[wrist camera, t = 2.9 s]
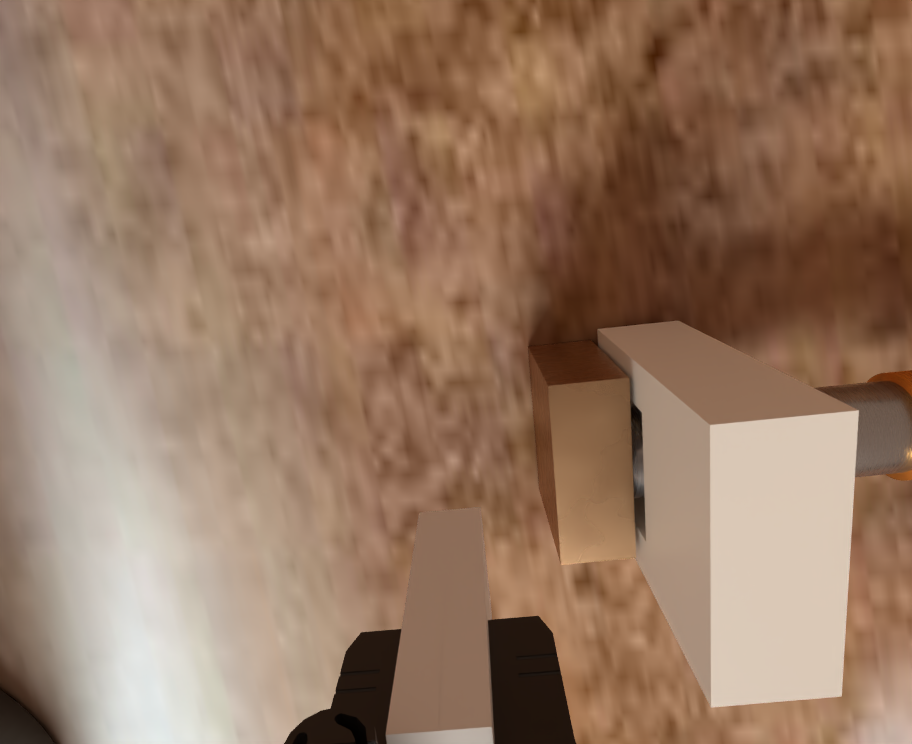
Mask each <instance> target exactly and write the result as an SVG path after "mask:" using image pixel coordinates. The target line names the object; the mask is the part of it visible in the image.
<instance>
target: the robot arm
mask: <svg viewBox="0 0 912 744" xmlns="http://www.w3.org/2000/svg"><path fill="white" fill-rule="evenodd" d="M340 674H341V675H340V677H339V679H338V683H337V687H336V694H334V698H333V702H332V705H331V709H327V710H323V711H320V712H318V713H316V714H314V715H312V716H310V717H308V718H307V719H305V720H303V721H302V722H301V723H300V724H299V725H298V726H297V727H296V728H295V729H294V730H293V731H292V732H291V733H290V734H289V736H288V738H287V740H286V742H285V743H284V744H576V742H575V739H574V734H573V729H572V725H571V720H570V715H569V710H568V705H567V700H566V696H565V691H564V686H563V681H562V676H561V672H560V666H559V662H558V657H557V652H556V647H555V642H554V637H553V633H552V631H551V630H550V629H549V628H548V627H547V626H546V624H545V623H544V622H543V621H542V620H541V618H540V617H539V616H531V617H519V618H507V619H495V620H492V615H491V601H490V592H489V583H488V573H487V564H486V555H485V545H484V536H483V526H482V517H481V508H480V507H475V508H464V509H453V510H442V511H431V512H420V513H419V517H418V524H417V531H416V537H415V544H414V550H413V557H412V564H411V570H410V577H409V583H408V590H407V596H406V603H405V610H404V616H403V623H402V629H397V630H385V631H373V632H361V633H360V635H359V636H358V637H357V638H356V640H355V641H354V642H353V643H352V645H351V646H350V647H349V648H348V650H347V651H346V654H345V657H344V661H343V665H342V668H341V672H340ZM0 744H54V742H53V741H52V739H51V738H50V736H49V735H48V734H47V732H46V731H45V730H44V729H43V727H42V726H41V725H40V724H39V723H38V722H37V721H36V720H35V718H34V717H32V716H31V715H30V714H29V713H28V712H27V711H26V710H25V709H24V708H23V707H22V706H21V705H19V704H18V703H17V702H16V701H15V700H13V699H12V698H11V697H9V696H8V695H7V694H5V693H4V692H2V691H1V690H0Z"/></svg>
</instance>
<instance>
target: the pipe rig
mask: <svg viewBox="0 0 912 744" xmlns="http://www.w3.org/2000/svg"><path fill="white" fill-rule="evenodd" d="M528 354H529V367H530V379H531V392H532V404H533V417H534V429H535V442H536V454H537V467H538V479H539V490H540V494H541V497H542V501H543V504H544V508H545V511H546V515H547V518H548V522H549V525H550V528H551V532H552V535H553V539H554V542H555V546H556V549H557V553H558V556H559V560H560V563H561V565H566V564H577V563H588V562H598V561H609V560H620V559H631V558H636V540H635V513H634V498H642V497H645V495H644V464H643V434H642V412H641V411H640V410H639V409H638V408H637V407H636V406H630V381H629V377H628V376H627V375H626V374H625V373H624V372H623V371H622V370H621V369H620V368H619V367H618V366H617V365H616V364H615V363H614V362H613V361H612V360H611V359H610V358H609V357H608V356H607V355H606V354H605V353H604V352H603V351H602V350H601V349H599V348H598V347H597V346H596V345H595V344H594V343H593V342H592V341H591V340H585V341H575V342H566V343H556V344H547V345H537V346H528ZM815 389H817V390H819V391H821V392H823V393H825V394H827V395H829V396H831V397H833V398H835V399H837V400H839V401H841V402H843V403H845V404H847V405H849V406H851V407H853V408H855V409H857V410H859V416H858V433H857V449H856V466H855V477H862V476H873V475H883V474H886V475H887V476H889V477H891V478H893V479H896V480H901V481H903V480H912V370H910V371H900V372H890V373H881V374H877V375H875V376H873V377H872V378H871V379H869V380H868V381H867V382H866V383H857V384H847V385H837V386H827V387H817V388H815Z"/></svg>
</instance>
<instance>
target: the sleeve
mask: <svg viewBox="0 0 912 744" xmlns="http://www.w3.org/2000/svg"><path fill="white" fill-rule="evenodd" d="M597 335H598V348H599V349H601V350H602V351H603V352H604V353H605V354H606V355H607V356H608V357H609V358H610V359H611V360H612V361H613V362H614V363H615V364H616V365H617V366H618V367H619V368H620V369H621V370H622V371H623V372H624V373H625V374H626V375H627V376H628V377H629V381H630V406H636V407H637V408H638V409H639V410H640V411H641V412H642V434H643V464H644V495H645V497H642V498H634V513H635V540H636V558H635V559H636V561H637V563H638V565H639V567H640V569H641V571H642V573H643V575H644V577H645V579H646V580H647V582H648V584H649V586H650V588H651V590H652V592H653V594H654V596H655V598H656V600H657V602H658V604H659V606H660V608H661V610H662V612H663V614H664V616H665V618H666V620H667V622H668V624H669V626H670V628H671V630H672V632H673V634H674V636H675V638H676V639H677V641H678V643H679V645H680V647H681V649H682V651H683V653H684V655H685V657H686V659H687V661H688V663H689V665H690V667H691V669H692V671H693V673H694V675H695V677H696V679H697V681H698V683H699V685H700V687H701V689H702V691H703V693H704V695H705V697H706V699H707V700H708V702H709V704H710V706H711V707H722V706H734V705H746V704H757V703H769V702H781V701H793V700H805V699H817V698H828V697H840V696H842V680H843V664H844V647H845V631H846V614H847V598H848V581H849V565H850V548H851V532H852V515H853V499H854V482H855V466H856V449H857V433H858V416H859V410H857V409H855V408H853V407H851V406H849V405H847V404H845V403H843V402H841V401H839V400H837V399H835V398H833V397H831V396H829V395H827V394H825V393H823V392H821V391H819V390H817V389H815V388H813V387H811V386H809V385H807V384H805V383H803V382H801V381H799V380H797V379H795V378H793V377H791V376H789V375H787V374H785V373H783V372H781V371H779V370H777V369H775V368H773V367H771V366H769V365H767V364H765V363H763V362H761V361H759V360H757V359H755V358H753V357H751V356H749V355H747V354H745V353H743V352H741V351H739V350H737V349H735V348H733V347H731V346H729V345H727V344H725V343H723V342H721V341H719V340H717V339H714V338H712V337H710V336H708V335H706V334H704V333H702V332H700V331H698V330H696V329H694V328H692V327H690V326H688V325H686V324H684V323H682V322H680V321H669V322H660V323H650V324H641V325H631V326H622V327H612V328H602V329H597Z"/></svg>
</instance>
